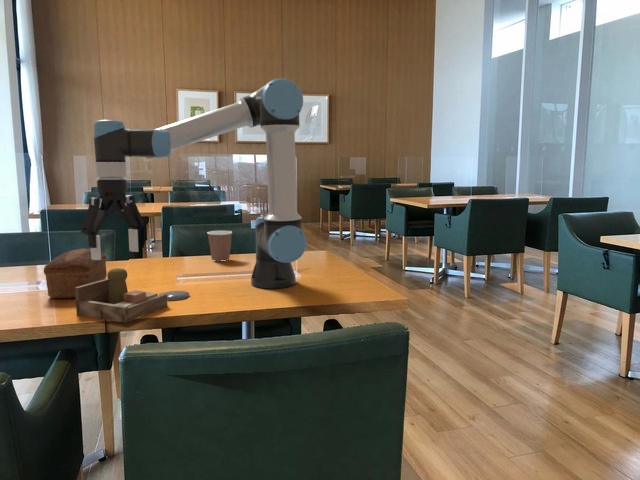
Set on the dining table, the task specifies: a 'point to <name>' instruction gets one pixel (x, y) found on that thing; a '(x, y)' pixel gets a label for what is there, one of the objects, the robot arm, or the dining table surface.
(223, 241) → the coffee cup
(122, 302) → the offcut
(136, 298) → the offcut
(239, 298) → the dining table surface
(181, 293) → the coaster
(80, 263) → the bread
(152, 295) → the offcut
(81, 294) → the tray
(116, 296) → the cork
